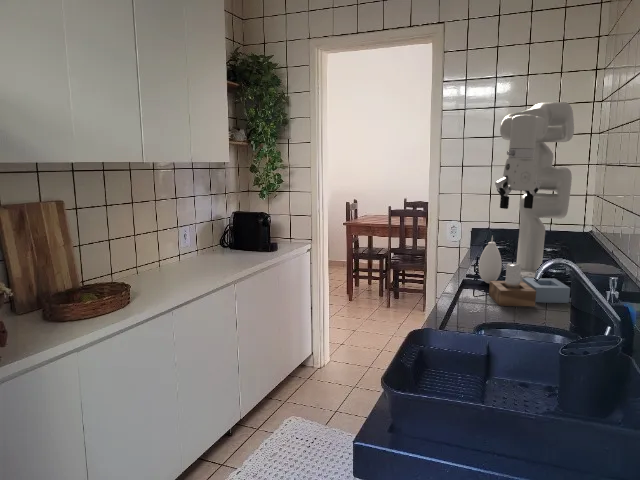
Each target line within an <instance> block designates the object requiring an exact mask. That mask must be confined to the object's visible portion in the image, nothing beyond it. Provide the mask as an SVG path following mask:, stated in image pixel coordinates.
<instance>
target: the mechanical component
mask: <svg viewBox="0 0 640 480" xmlns="http://www.w3.org/2000/svg"><path fill="white" fill-rule="evenodd" d="M534 277H535V273H532V272H521V276H520V281H522V280H523V278H534Z"/></svg>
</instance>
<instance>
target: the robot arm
mask: <svg viewBox="0 0 640 480" xmlns="http://www.w3.org/2000/svg"><path fill="white" fill-rule="evenodd" d="M574 121H575V120H574V111H573V108H572V105H571V104H570V103H568V102H567V101H566V102H565V101H562V102H561V101H560V102H559V101H558V102H557V101H556V102H555V101H553V102H540V103H537V104H534V105H533V106H532V107H531V108H529V109H525V110H522V111H521V110H520V111H517V112H514V113H509V114H508V115H506V116H505V117H504V118H503V119H502V121H501V124H500V128H499V135H500V136H501V138H502V139H503V140H505V141H509V144H508V145H509V147H508V150H507V151H506V155H508V157H507V159H506V161H505V165H504V169H503V174H502V178H500V179H499V180H496V181H495V182H494V183H495V187H496V191H497V192H498V195H499V197H500V200H499V201H500V204H499V208H500V209H502V210H503V209H504V210H508V209H509V204H510V196H509V194H510V193H512V191H516V192H517V191H521V192H523V191H524V194H523V195H521V196H520V199H519V206H518V207H519V230H518V231H519V232H518V240H517V241H518V243H517V253H516V263H515V264H519V265H521V272H532V273H536V271H537V269H538V268H539V267H540V265H541V264H542V265H543V259H544V258H543V256H544V248H545V247H544V246H545V238H546V226H545V224H544V223H543V222H542V220H541V218H543V219H556V220H557V219H558V220H562V219H564V218H565V217H566V216H567V214H568V211H569V207H570V206H569V205H570V196H571V190H572V179H573V178H572V171H571V169H570V168H568V167H566V166H553V162H554V153H553V151H552V150H551V148H550V147H549V146H548V145H547V144H546V143H567V142H569V141H571V140H572V138H573V136H574V133H575V122H574ZM538 191H543V192H544V191H547V192H549V191H550V192H556V194H555V193H542V192H541V193H540V192H538Z"/></svg>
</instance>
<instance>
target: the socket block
mask: <svg viewBox="0 0 640 480" xmlns="http://www.w3.org/2000/svg"><path fill="white" fill-rule="evenodd" d="M522 281H523V282H524V283H526V284H527V285H528V286H530V287H531V288H533V289H534V290H535V291H536V299H535V303H553V304H554V303H557V304H559V303H562V304H565V303H566V304H569V303H570V295H571V287H569V286H568V285H566V284H565V283H563V282H561V281H560V280H558V279H557V278H553V277H552V278H551V277H550V278H547V277H546V278H542V277H541V278H540V279H539V280H538V281H536V280H535V279H534V278H523V280H522Z"/></svg>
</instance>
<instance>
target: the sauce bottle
mask: <svg viewBox="0 0 640 480" xmlns="http://www.w3.org/2000/svg"><path fill="white" fill-rule="evenodd" d="M493 236H494V235H491V241H489V242H488V243H487V245H486V246H485V247H484V248H483V251H482V253H481V255H480V258H479V261H478V262H479V263H478V273H479V277H480V279H482V280H483V282H485V283H486V284H489V285H490V281H498V279H499V277H500V275H501V272H502V266H503V265H502V256H501V253H500V250H499V249H498V247H497V245H496V244H497V243H496V242H495V241H494V237H493Z"/></svg>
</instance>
